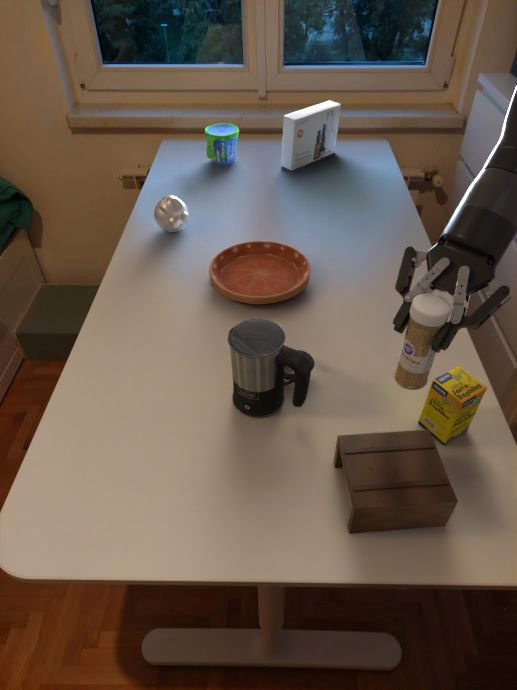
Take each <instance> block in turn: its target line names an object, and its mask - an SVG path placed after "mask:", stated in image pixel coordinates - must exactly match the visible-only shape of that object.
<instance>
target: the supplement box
mask: <svg viewBox="0 0 517 690" xmlns="http://www.w3.org/2000/svg"><path fill="white" fill-rule="evenodd" d="M487 389H488V387H487V386H486V385H485V384H483V383H482V382H481V381H480V380H478V379H477V378H475V377H474V376H473V375H471V374H470V373H469V372H468V371H466V370H465V369H464V368H462V367H461V366H460V365H456V366H455V367H453V368H452V369H450V370H449V371H446V372H445V373H442V374H441V375H439V376H437V377H435V378H434V379H432V382H431V384H430V388H429V390H428V393H427V396H426V398H425V401H424V405H423V408H422V410H421V413H420V416H419V419H418V422H417V424H418V425H419V426H421V427H422V428H423V430H430V432H431V435H432V437H433V439H434V440H436V441H437V442H439V444H441V446H442V447H443V446H444V447H445V446H446V445H448V444H450V443H451V441H453V440H455V439H457V438H458V437H459V436H461V435H463V434H464V433H466V432H467V431H469V428H470V426H471V424H472V422H473V419H474V418H475V415H476V413H477V411H478V409H479V406H480V404H481V403H482V400H483V398H484V395H485V393H486V391H487Z"/></svg>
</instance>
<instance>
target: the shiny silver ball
mask: <svg viewBox="0 0 517 690" xmlns="http://www.w3.org/2000/svg"><path fill="white" fill-rule="evenodd" d="M153 217H154V218H153V219H154V222H155V223H156V224H157V226H158V227H159V228H160V229H161V230H162V231H165V232H168V233H176V232H179V231H181V230H183V229H184V227H185V226H186V225H187V223H188V222H189V220H190V213H189V209H188V206H187V205H186V204H185V202H184V201H182V199H180V198H179V197H177V196H175V195H165V196H163V197H162V198H161V199H160V200H159V201H158V202H157V203H156V205H155V206H154V210H153Z"/></svg>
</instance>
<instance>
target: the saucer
mask: <svg viewBox="0 0 517 690" xmlns="http://www.w3.org/2000/svg"><path fill="white" fill-rule="evenodd" d="M208 268H209V269H208V273H209V280H210V283H211V284H212V286H213V288H214V290H216V291H217V292H218V293H219V294H221V295H222V296H223V297H225V298H228V299H229V300H232V301H236V302H239V303H243V304H249V305H251V304H252V305H267V304H274V303H279V302H282V301H286V300H288V299H291V298H293V297H294V296H296V295H298V294H299V293H300V292H302V291H303V290H304V289H305V288H306V286H307V285H308V283H309V281H310V276H311V264H310V261H309V259H308V258H307V257H306V255H305V254H304V253H303V252H301V251H300V250H298V249H297V248H295V247H293V246H291V245H288V244H285V243H281V242H277V241H271V240H254V241H253V240H252V241H246V242H241V243H237V244H234V245H231V246H228V247H226V248H224V249H223V250H221V251H220V252H219V253H217V254H216V255H215V256H214V257H213V259H212V260H211V261H210V264H209V267H208Z"/></svg>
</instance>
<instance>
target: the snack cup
mask: <svg viewBox="0 0 517 690" xmlns="http://www.w3.org/2000/svg"><path fill="white" fill-rule="evenodd" d="M239 133H240V129H239V127H238V126H237V125H235V124H232V123H227V122H219V123H218V122H217V123H213V124H210V125H208V126H206V127H205V129H204V135H205V137H206V139H207V143H206V144H207V145H206V157H207V158H208V159H209V160H211V161H212V162H213V163H215V164H216V165H231V164H232V163H233V162H234V161H235V159H236V153H237V144H238V141H239V136H238V135H239Z"/></svg>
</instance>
